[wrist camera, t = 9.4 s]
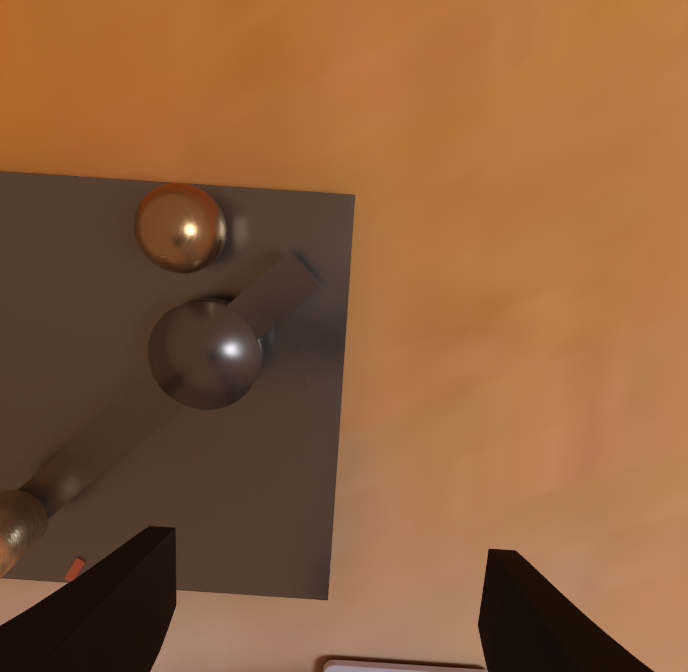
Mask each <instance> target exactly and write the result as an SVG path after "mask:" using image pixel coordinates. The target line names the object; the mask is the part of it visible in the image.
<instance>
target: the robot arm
mask: <svg viewBox="0 0 688 672" xmlns="http://www.w3.org/2000/svg"><path fill="white" fill-rule="evenodd" d="M175 607H176V528H174V527H159V526H148V527H147V528H145V529H144V530H142V531H141V532H140V533H138V534H137V535H135V536H134V537H133V538H131V539H130V540H128V541H127V542H126V543H124V544H123V545H122V546H120V547H119V548H117V549H116V550H115V551H113V552H112V553H111V554H109V555H108V556H106V557H105V558H104V559H102V560H101V561H99V562H98V563H97V564H95V565H94V566H92V567H91V568H90V569H88V570H87V571H85V572H84V573H83V574H81V575H80V576H78V577H77V578H75V579H74V580H72V581H71V582H69V583H68V584H66V585H65V586H63V587H62V588H60V589H59V590H57V591H55V592H54V593H52V594H51V595H49V596H48V597H46V598H45V599H43V600H42V601H40V602H39V603H37V604H36V605H34V606H32V607H31V608H29V609H28V610H26V611H24V612H23V613H21V614H19V615H18V616H16V617H14V618H13V619H11V620H9V621H8V622H6V623H4V624H2V625H1V626H0V672H150V671H151V669H152V666H153V664H154V662H155V660H156V658H157V656H158V654H159V652H160V649H161V647H162V644H163V641H164V638H165V636H166V633H167V630H168V627H169V625H170V622H171V619H172V616H173V613H174V610H175ZM478 628H479V633H480V638H481V643H482V648H483V652H484V657H485V661H486V666H487V670H488V671H487V670H481V669H466V668H451V667H436V666H422V665H407V664H392V663H377V662H363V661H348V660H329V661H327V662H326V663H325V664H324V667H323V672H654V671H652V670H651V669H650V668H648V667H647V666H646V665H645V664H643V663H642V662H641V661H639V660H638V659H637V658H636V657H634V656H633V655H632V654H631V653H629V652H628V651H627V650H626V649H624V648H623V647H622V646H621V645H620V644H618V643H617V642H616V641H615V640H614V639H612V638H611V637H610V636H609V635H608V634H606V633H605V632H604V631H603V630H602V629H600V628H599V627H598V626H597V625H596V624H595V623H594V622H592V621H591V620H590V619H589V618H588V617H587V616H586V615H585V614H583V613H582V612H581V611H580V610H579V609H578V608H577V607H576V606H575V605H574V604H572V603H571V602H570V601H569V600H568V599H567V598H566V597H565V596H564V595H563V594H562V593H561V592H559V591H558V590H557V589H556V588H555V587H554V586H553V585H552V584H551V583H550V582H549V581H548V580H547V579H546V578H545V577H544V576H543V575H542V574H540V573H539V572H538V571H537V570H536V569H535V568H534V567H533V566H532V565H531V564H530V563H529V562H528V561H527V560H526V559H525V558H523V557H522V556H521V555H520V554H519V553H518V552H517V551H515V550H500V549H489V551H488V558H487V565H486V572H485V579H484V586H483V593H482V600H481V607H480V614H479V621H478Z"/></svg>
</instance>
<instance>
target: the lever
mask: <svg viewBox="0 0 688 672" xmlns="http://www.w3.org/2000/svg"><path fill="white" fill-rule="evenodd" d="M320 286H321V283H320V282H319V281H318V280H317V279H316V277H315V276H314V275H313V274H312V273H311V272H310V270H309V269H308V268H307V267H306V266H305V265H304V263H303V262H302V261H301V260H300V259H299V258H298V256H297V255H296V254H295V253H294V252H293V251H292V250H291V251H289V252H288V253H286V254H285V255H284V256H283V257H282V258H281V259H280V260H279V261H277V262H276V263H275V264H274V265H273V266H272V267H271V268H269V269H268V270H267V271H266V272H265V273H264V274H263V275H261V276H260V277H259V278H258V279H257V280H256V281H255V282H253V283H252V284H251V285H250V286H249V287H248V288H247V289H246V290H244V291H243V292H242V293H241V294H240V295H239V296H238V297H236V298H235V299H234V300H233V301H232V302H231V303H230V302H228V301H225V300H221V299H216V298H198V299H194V300H190V301H188V302H185V303H183V304H181V305H178V306H176V307H174V308H172V309H171V310H169V311H168V312H167V313H165V314H164V315H163V316H162V317H161V318H160V319H159V320H158V322H157V323H156V325H155V326H154V328H153V330H152V332H151V335H150V338H149V342H148V352H147V353H148V362H149V367H150V370H151V373H150V374H149V375H148V376H147V377H145V378H144V379H143V380H142V381H141V382H140V383H139V384H137V385H136V386H135V387H134V388H133V389H132V390H131V391H129V392H128V393H127V394H126V395H125V396H124V397H123V398H121V399H120V400H119V401H118V402H117V403H116V404H115V405H114V406H112V407H111V408H110V409H109V410H108V411H107V412H106V413H104V414H103V415H102V416H101V417H100V418H99V419H98V420H96V421H95V422H94V423H93V424H92V425H91V426H90V427H88V428H87V429H86V430H85V431H84V432H83V433H82V434H81V435H79V436H78V437H77V438H76V439H75V440H74V441H73V442H71V443H70V444H69V445H68V446H67V447H66V448H65V449H63V450H62V451H61V452H60V453H59V454H58V455H57V456H55V457H54V458H53V459H52V460H51V461H50V462H49V463H48V464H46V465H45V466H44V467H43V468H42V469H41V470H40V471H38V472H37V473H36V474H35V475H34V476H33V477H32V478H30V479H29V480H28V481H27V482H26V483H25V484H24V485H22V486H21V487H20V488H19V489H18V490H5V491H2V492H0V579H1V578H2V577H3V576H4V575H5V574H6V573H7V572H8V571H9V570H10V569H11V568H12V567H13V566H14V565H15V564H16V563H17V562H18V561H19V560H20V559H21V558H22V557H23V556H24V555H25V554H26V553H27V552H28V551H29V550H30V549H31V548H32V547H33V546H34V545H35V544H36V543H37V542H38V541H39V540H40V539H41V538H42V537H43V536H44V535H45V533H46V531H47V528H48V519H49V518H50V517H51V516H52V515H54V514H55V513H56V512H57V511H58V510H59V509H61V508H62V507H63V506H64V505H65V504H66V503H68V502H69V501H70V500H71V499H72V498H73V497H75V496H76V495H77V494H78V493H79V492H80V491H82V490H83V489H84V488H85V487H86V486H87V485H89V484H90V483H91V482H92V481H93V480H94V479H96V478H97V477H98V476H99V475H100V474H102V473H103V472H104V471H105V470H106V469H107V468H109V467H110V466H111V465H112V464H113V463H114V462H116V461H117V460H118V459H119V458H120V457H121V456H123V455H124V454H125V453H126V452H127V451H128V450H130V449H131V448H132V447H133V446H134V445H135V444H137V443H138V442H139V441H140V440H141V439H143V438H144V437H145V436H146V435H147V434H148V433H150V432H151V431H152V430H153V429H154V428H155V427H157V426H158V425H159V424H160V423H161V422H162V421H164V420H165V419H166V418H167V417H168V416H169V415H171V414H172V413H173V412H174V411H175V410H176V409H178V408H179V407H180V406H181V405H185V406H187V407H191V408H194V409H200V410H214V409H219V408H224V407H226V406H229V405H231V404H233V403H235V402H236V401H238V400H239V399H241V398H242V397H243V396H244V395H245V394H246V393H247V392H248V390H249V389H250V388H251V386H252V385H253V383H254V382H255V380H256V379H257V377H258V375H259V373H260V371H261V368H262V364H263V358H264V347H263V341H262V336H263V335H264V334H265V333H267V332H268V331H269V330H270V329H271V328H272V327H274V326H275V325H276V324H277V323H278V322H279V321H281V320H282V319H283V318H284V317H285V316H287V315H288V314H289V313H290V312H291V311H292V310H294V309H295V308H296V307H297V306H298V305H299V304H301V303H302V302H303V301H304V300H305V299H306V298H308V297H309V296H310V295H311V294H312V293H313V292H315V291H316V290H317V289H318V288H319V287H320Z"/></svg>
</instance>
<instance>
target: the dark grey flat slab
mask: <svg viewBox="0 0 688 672" xmlns="http://www.w3.org/2000/svg"><path fill="white" fill-rule="evenodd" d="M354 202H355V195H350V194H335V193H319V192H304V191H289V190H274V189H259V188H244V187H229V186H214V185H199V184H184V183H169V182H153V181H138V180H123V179H108V178H93V177H78V176H63V175H48V174H33V173H18V172H3V171H0V492H2V491H5V490H18V489H19V488H20V487H21V486H22V485H24V484H25V483H26V482H27V481H28V480H29V479H30V478H32V477H33V476H34V475H35V474H36V473H37V472H38V471H40V470H41V469H42V468H43V467H44V466H45V465H46V464H48V463H49V462H50V461H51V460H52V459H53V458H54V457H55V456H57V455H58V454H59V453H60V452H61V451H62V450H63V449H65V448H66V447H67V446H68V445H69V444H70V443H71V442H73V441H74V440H75V439H76V438H77V437H78V436H79V435H81V434H82V433H83V432H84V431H85V430H86V429H87V428H88V427H90V426H91V425H92V424H93V423H94V422H95V421H96V420H98V419H99V418H100V417H101V416H102V415H103V414H104V413H106V412H107V411H108V410H109V409H110V408H111V407H112V406H114V405H115V404H116V403H117V402H118V401H119V400H120V399H121V398H123V397H124V396H125V395H126V394H127V393H128V392H129V391H131V390H132V389H133V388H134V387H135V386H136V385H137V384H139V383H140V382H141V381H142V380H143V379H144V378H145V377H147V376H148V375H149V374H150V373H151V370H150V367H149V362H148V353H147V352H148V342H149V338H150V335H151V332H152V330H153V328H154V326H155V325H156V323H157V322H158V320H159V319H160V318H161V317H162V316H163V315H164V314H165V313H167V312H168V311H169V310H171V309H172V308H174V307H176V306H178V305H181V304H183V303H185V302H188V301H190V300H194V299H198V298H216V299H221V300H225V301H228V302H230V303H231V302H232V301H233V300H234V299H235V298H236V297H238V296H239V295H240V294H241V293H242V292H243V291H244V290H246V289H247V288H248V287H249V286H250V285H251V284H252V283H253V282H255V281H256V280H257V279H258V278H259V277H260V276H261V275H263V274H264V273H265V272H266V271H267V270H268V269H269V268H271V267H272V266H273V265H274V264H275V263H276V262H277V261H279V260H280V259H281V258H282V257H283V256H284V255H285V254H286V253H288V252H289V251H291V250H292V251H293V252H294V253H295V254H296V255H297V256H298V258H299V259H300V260H301V261H302V262H303V263H304V265H305V266H306V267H307V268H308V269H309V270H310V272H311V273H312V274H313V275H314V276H315V277H316V279H317V280H318V281H319V282H320V283H321V286H320V287H319V288H318V289H317V290H316V291H315V292H313V293H312V294H311V295H310V296H309V297H308V298H306V299H305V300H304V301H303V302H302V303H301V304H299V305H298V306H297V307H296V308H295V309H294V310H292V311H291V312H290V313H289V314H288V315H287V316H285V317H284V318H283V319H282V320H281V321H279V322H278V323H277V324H276V325H275V326H274V327H272V328H271V329H270V330H269V331H268V332H267V333H265V334H264V335H263V336H262V341H263V347H264V358H263V364H262V368H261V371H260V373H259V375H258V377H257V379H256V380H255V382H254V383H253V385H252V386H251V388H250V389H249V390H248V392H247V393H246V394H245V395H244V396H243V397H242V398H241V399H239V400H238V401H236V402H235V403H233V404H231V405H229V406H226V407H224V408H219V409H214V410H200V409H194V408H191V407H187V406H185V405H181V406H180V407H179V408H178V409H176V410H175V411H174V412H173V413H172V414H171V415H169V416H168V417H167V418H166V419H165V420H164V421H162V422H161V423H160V424H159V425H158V426H157V427H155V428H154V429H153V430H152V431H151V432H150V433H148V434H147V435H146V436H145V437H144V438H143V439H141V440H140V441H139V442H138V443H137V444H135V445H134V446H133V447H132V448H131V449H130V450H128V451H127V452H126V453H125V454H124V455H123V456H121V457H120V458H119V459H118V460H117V461H116V462H114V463H113V464H112V465H111V466H110V467H109V468H107V469H106V470H105V471H104V472H103V473H102V474H100V475H99V476H98V477H97V478H96V479H94V480H93V481H92V482H91V483H90V484H89V485H87V486H86V487H85V488H84V489H83V490H82V491H80V492H79V493H78V494H77V495H76V496H75V497H73V498H72V499H71V500H70V501H69V502H68V503H66V504H65V505H64V506H63V507H62V508H61V509H59V510H58V511H57V512H56V513H55V514H54V515H52V516H51V517H50V518H49V519H48V528H47V531H46V533H45V535H44V536H43V537H42V538H41V539H40V540H39V541H38V542H37V543H36V544H35V545H34V546H33V547H32V548H31V549H30V550H29V551H28V552H27V553H26V554H25V555H24V556H23V557H22V558H21V559H20V560H19V561H18V562H17V563H16V564H15V565H14V566H13V567H12V568H11V569H10V570H9V571H8V572H7V573H6V574H5V575H4V576H3V577H2V578H7V579H21V580H36V581H51V582H66V583H69V582H71V581H72V580H74V579H75V578H77V577H78V576H80V575H81V574H83V573H84V572H85V571H87V570H88V569H90V568H91V567H92V566H94V565H95V564H97V563H98V562H99V561H101V560H102V559H104V558H105V557H106V556H108V555H109V554H111V553H112V552H113V551H115V550H116V549H117V548H119V547H120V546H122V545H123V544H124V543H126V542H127V541H128V540H130V539H131V538H133V537H134V536H135V535H137V534H138V533H140V532H141V531H142V530H144V529H145V528H147V527H148V526H159V527H174V528H176V590H184V591H199V592H214V593H229V594H243V595H258V596H273V597H288V598H303V599H317V600H328V590H329V575H330V560H331V545H332V530H333V515H334V500H335V486H336V471H337V456H338V441H339V426H340V411H341V396H342V381H343V366H344V351H345V336H346V321H347V307H348V292H349V277H350V262H351V247H352V232H353V217H354Z"/></svg>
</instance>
